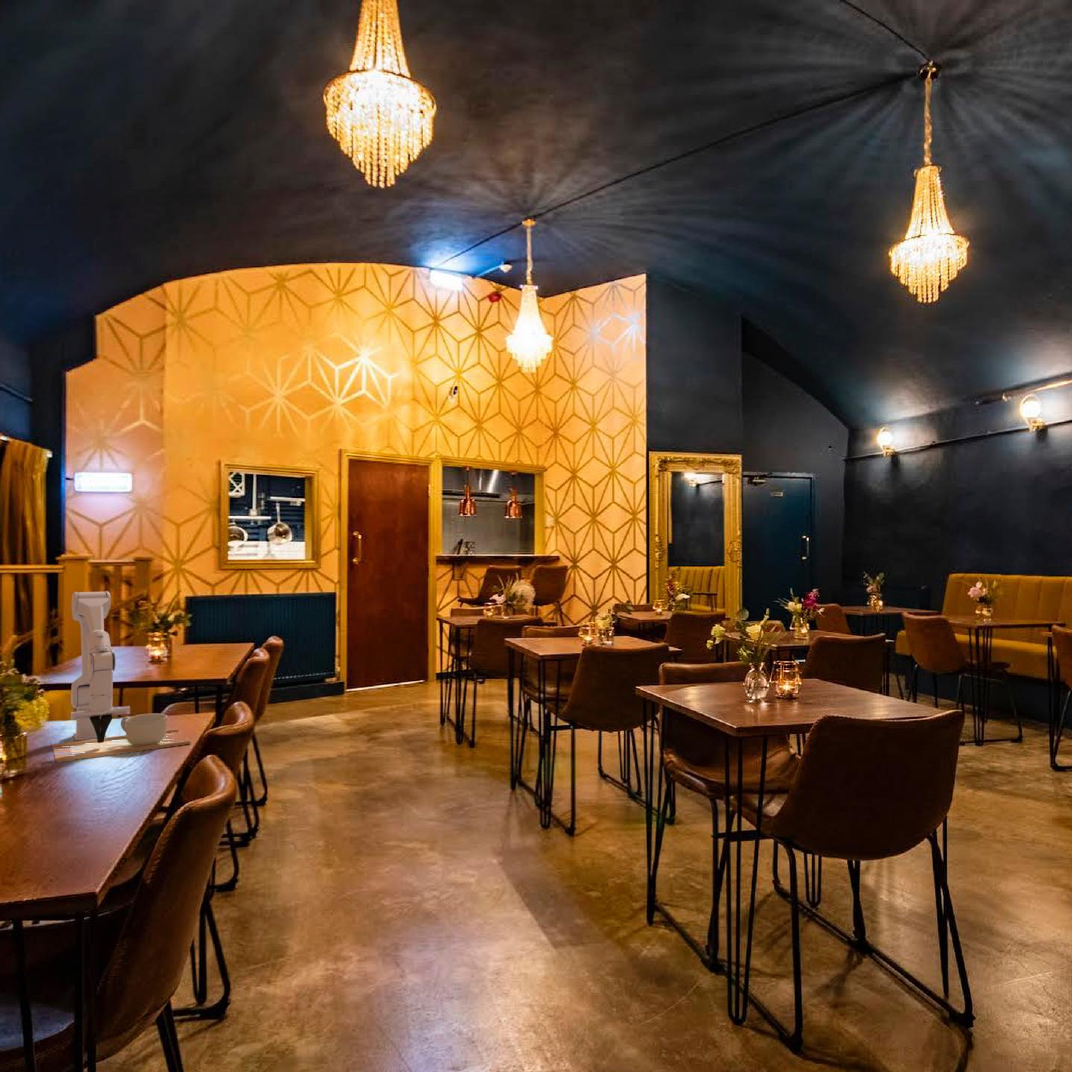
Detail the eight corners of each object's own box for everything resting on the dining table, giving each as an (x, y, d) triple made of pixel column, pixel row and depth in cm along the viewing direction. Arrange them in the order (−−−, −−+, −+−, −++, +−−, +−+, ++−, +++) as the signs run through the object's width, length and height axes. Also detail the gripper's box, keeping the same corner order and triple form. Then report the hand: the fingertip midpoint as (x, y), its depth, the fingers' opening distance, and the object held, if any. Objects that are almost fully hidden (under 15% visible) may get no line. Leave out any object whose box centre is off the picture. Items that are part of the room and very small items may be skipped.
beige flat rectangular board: (52, 747, 215) (52, 744, 215) (177, 731, 234) (177, 728, 234) (56, 762, 200) (56, 758, 200) (190, 744, 219) (190, 740, 219)
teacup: (174, 743, 220) (175, 715, 220) (140, 751, 210) (141, 722, 210) (143, 737, 226) (143, 710, 226) (108, 745, 216) (109, 717, 216)
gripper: (72, 699, 207) (71, 748, 206) (131, 693, 215) (131, 741, 215) (70, 695, 212) (69, 743, 212) (128, 690, 221) (127, 736, 220)
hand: (100, 742), depth 214 cm, fingers closed
